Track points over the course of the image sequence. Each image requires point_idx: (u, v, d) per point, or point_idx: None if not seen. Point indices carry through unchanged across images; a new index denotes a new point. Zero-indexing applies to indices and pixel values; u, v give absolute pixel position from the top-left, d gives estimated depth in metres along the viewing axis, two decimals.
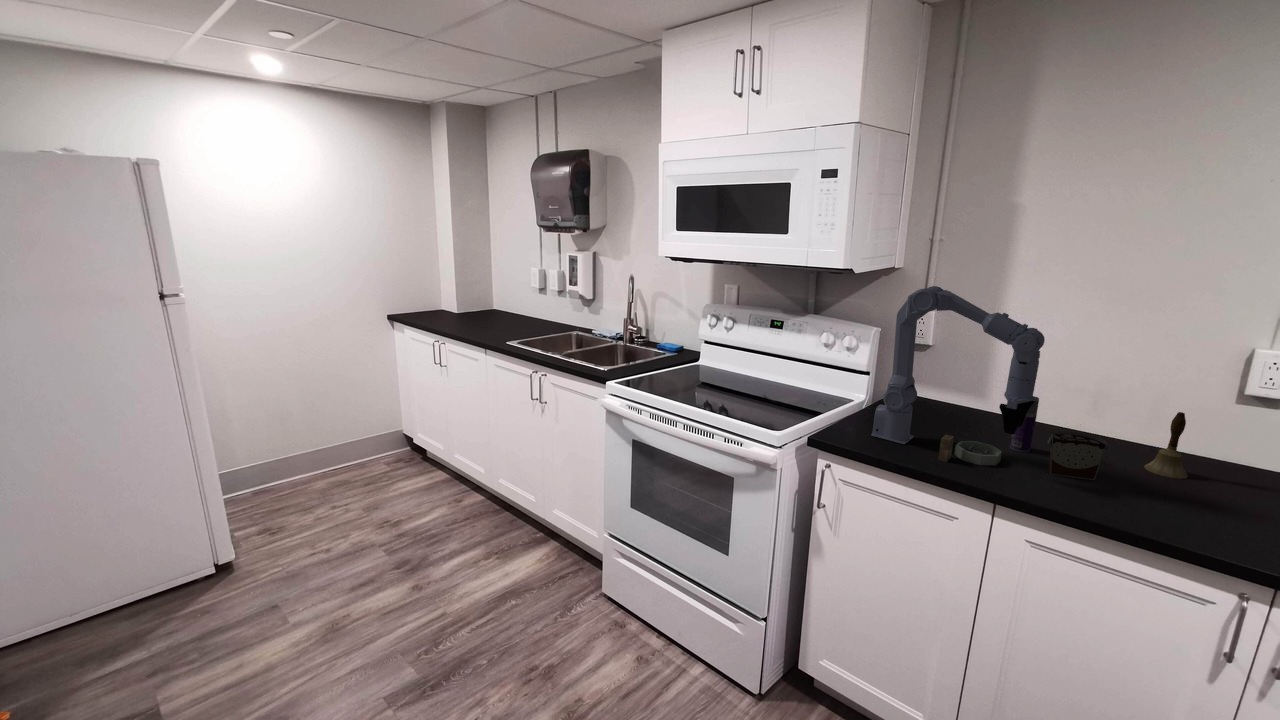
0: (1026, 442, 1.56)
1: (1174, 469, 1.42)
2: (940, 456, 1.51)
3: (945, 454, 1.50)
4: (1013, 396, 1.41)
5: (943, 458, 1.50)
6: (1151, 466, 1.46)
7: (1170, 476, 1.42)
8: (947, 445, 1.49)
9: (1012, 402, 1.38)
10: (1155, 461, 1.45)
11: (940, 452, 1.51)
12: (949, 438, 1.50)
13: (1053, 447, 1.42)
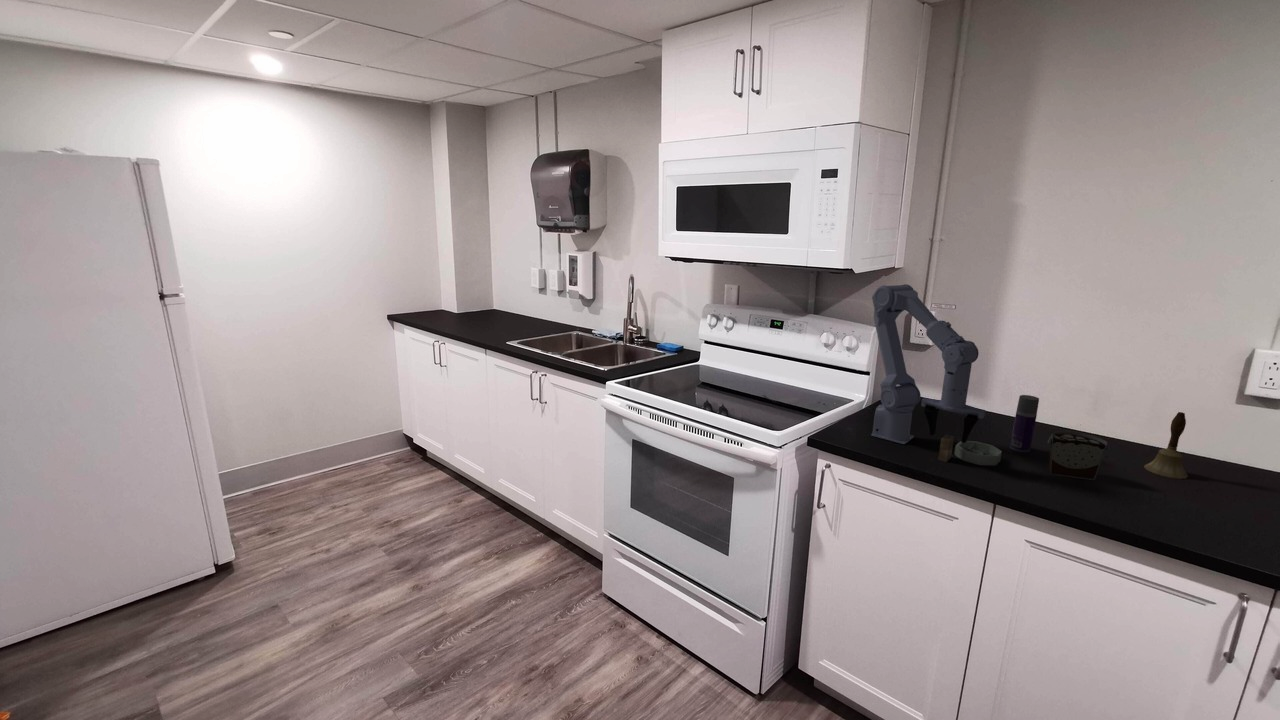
0: (1026, 442, 1.56)
1: (1174, 469, 1.42)
2: (940, 456, 1.51)
3: (945, 454, 1.50)
4: None
5: (943, 458, 1.50)
6: (1151, 466, 1.46)
7: (1170, 476, 1.42)
8: (947, 445, 1.49)
9: None
10: (1155, 461, 1.45)
11: (940, 452, 1.51)
12: (949, 438, 1.50)
13: (1053, 447, 1.42)
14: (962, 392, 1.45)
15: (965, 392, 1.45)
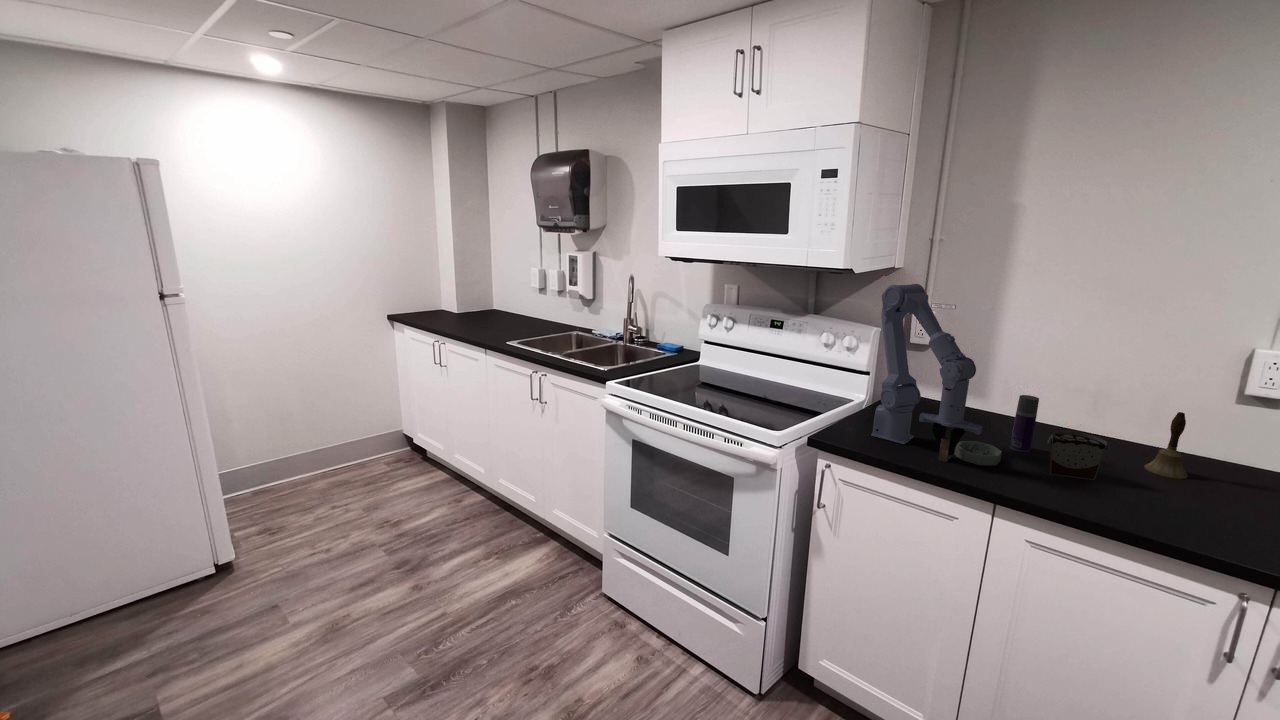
0: (1026, 442, 1.56)
1: (1174, 469, 1.42)
2: (940, 456, 1.51)
3: (945, 454, 1.50)
4: None
5: (943, 458, 1.50)
6: (1151, 466, 1.46)
7: (1170, 476, 1.42)
8: (947, 445, 1.49)
9: None
10: (1155, 461, 1.45)
11: (940, 452, 1.51)
12: (949, 438, 1.50)
13: (1053, 447, 1.42)
14: (959, 408, 1.46)
15: (962, 408, 1.46)
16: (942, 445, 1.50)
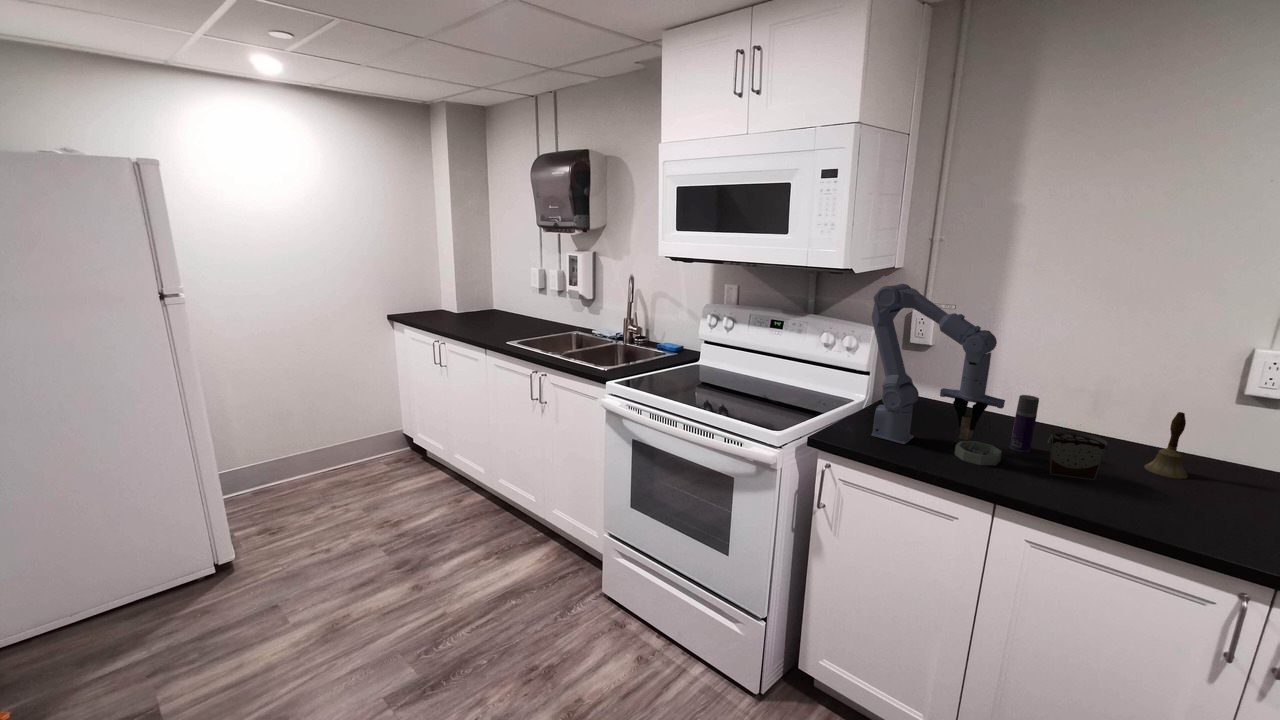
0: (1026, 442, 1.56)
1: (1174, 469, 1.42)
2: (961, 434, 1.50)
3: (966, 432, 1.49)
4: None
5: (964, 436, 1.49)
6: (1151, 466, 1.46)
7: (1170, 476, 1.42)
8: (968, 423, 1.48)
9: None
10: (1155, 461, 1.45)
11: (961, 430, 1.50)
12: (970, 416, 1.49)
13: (1053, 447, 1.42)
14: (982, 382, 1.45)
15: (985, 382, 1.45)
16: (963, 423, 1.49)
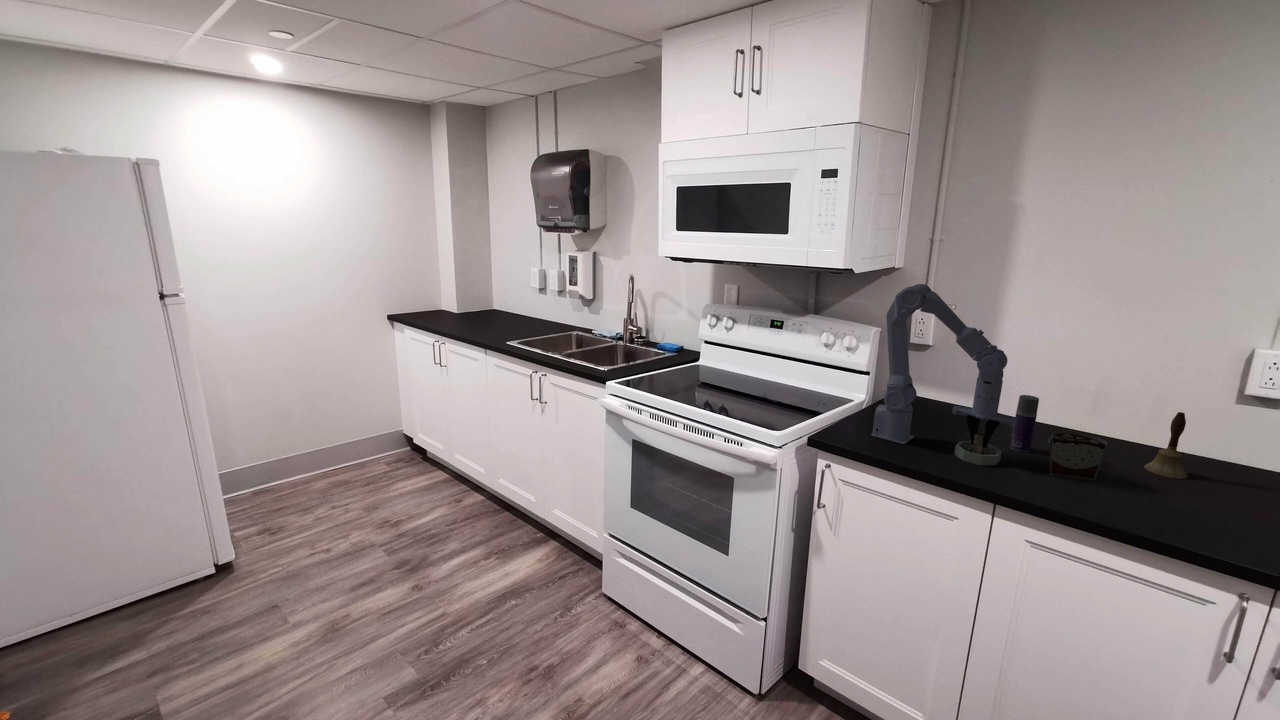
0: (1026, 442, 1.56)
1: (1174, 469, 1.42)
2: (973, 452, 1.52)
3: (979, 450, 1.51)
4: None
5: None
6: (1151, 466, 1.46)
7: (1170, 476, 1.42)
8: (981, 441, 1.50)
9: (953, 407, 1.55)
10: (1155, 461, 1.45)
11: (973, 448, 1.51)
12: (983, 434, 1.51)
13: (1053, 447, 1.42)
14: (994, 400, 1.46)
15: (997, 400, 1.47)
16: (976, 441, 1.51)
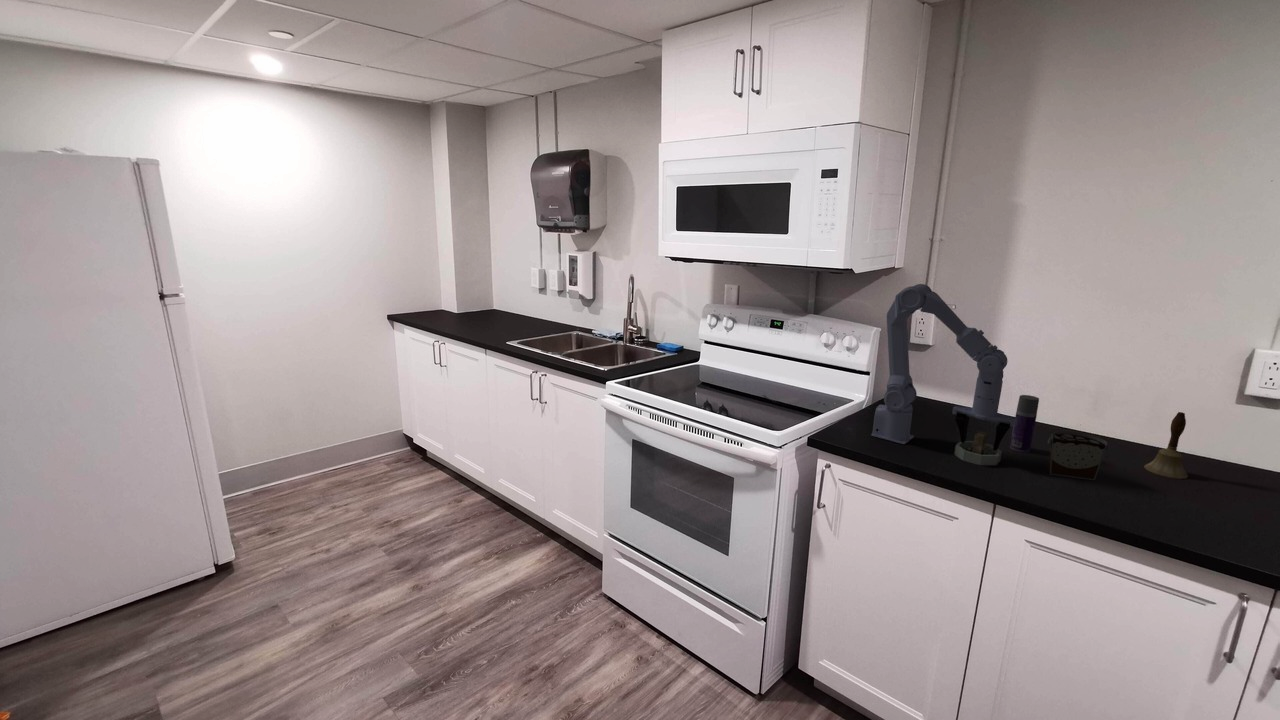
0: (1026, 442, 1.56)
1: (1174, 469, 1.42)
2: (973, 452, 1.52)
3: (979, 450, 1.51)
4: None
5: None
6: (1151, 466, 1.46)
7: (1170, 476, 1.42)
8: (981, 441, 1.50)
9: None
10: (1155, 461, 1.45)
11: (973, 448, 1.51)
12: (983, 434, 1.51)
13: (1053, 447, 1.42)
14: (994, 401, 1.46)
15: (997, 401, 1.47)
16: (976, 441, 1.51)
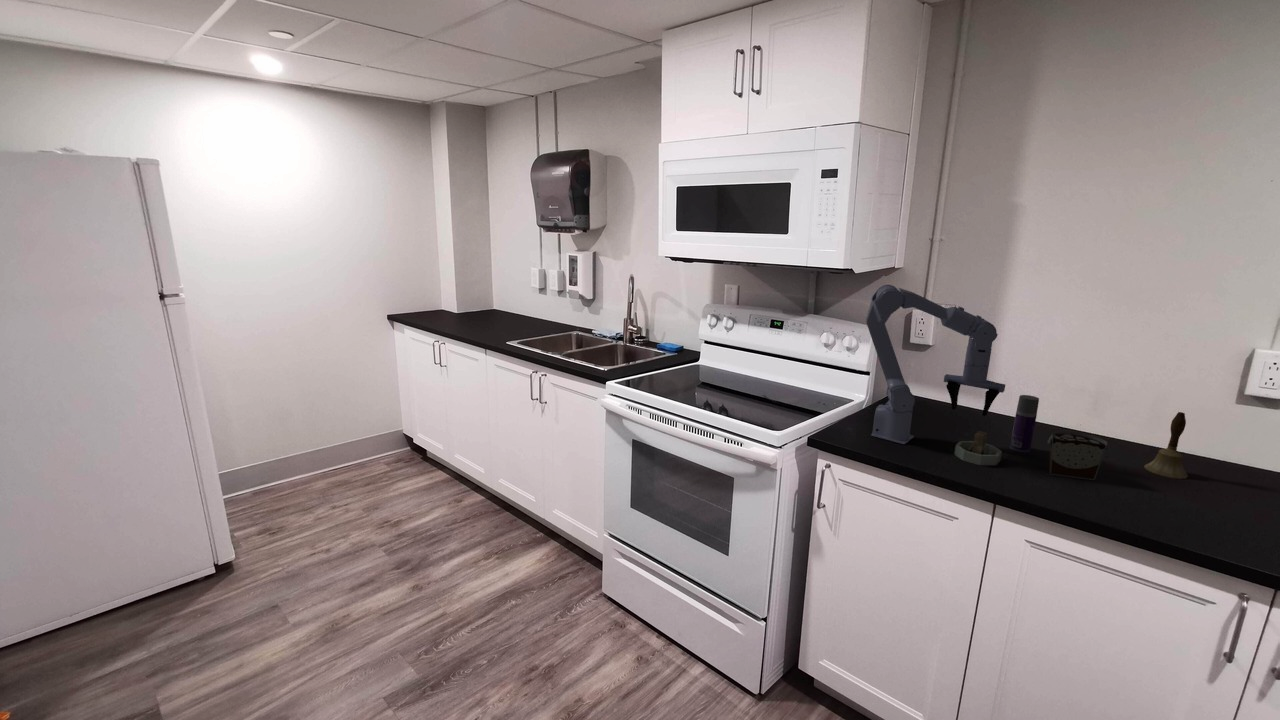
0: (1026, 442, 1.56)
1: (1174, 469, 1.42)
2: (973, 452, 1.52)
3: (979, 450, 1.51)
4: None
5: None
6: (1151, 466, 1.46)
7: (1170, 476, 1.42)
8: (981, 441, 1.50)
9: None
10: (1155, 461, 1.45)
11: (973, 448, 1.51)
12: (983, 434, 1.51)
13: (1053, 447, 1.42)
14: (983, 367, 1.53)
15: (986, 367, 1.53)
16: (976, 441, 1.51)
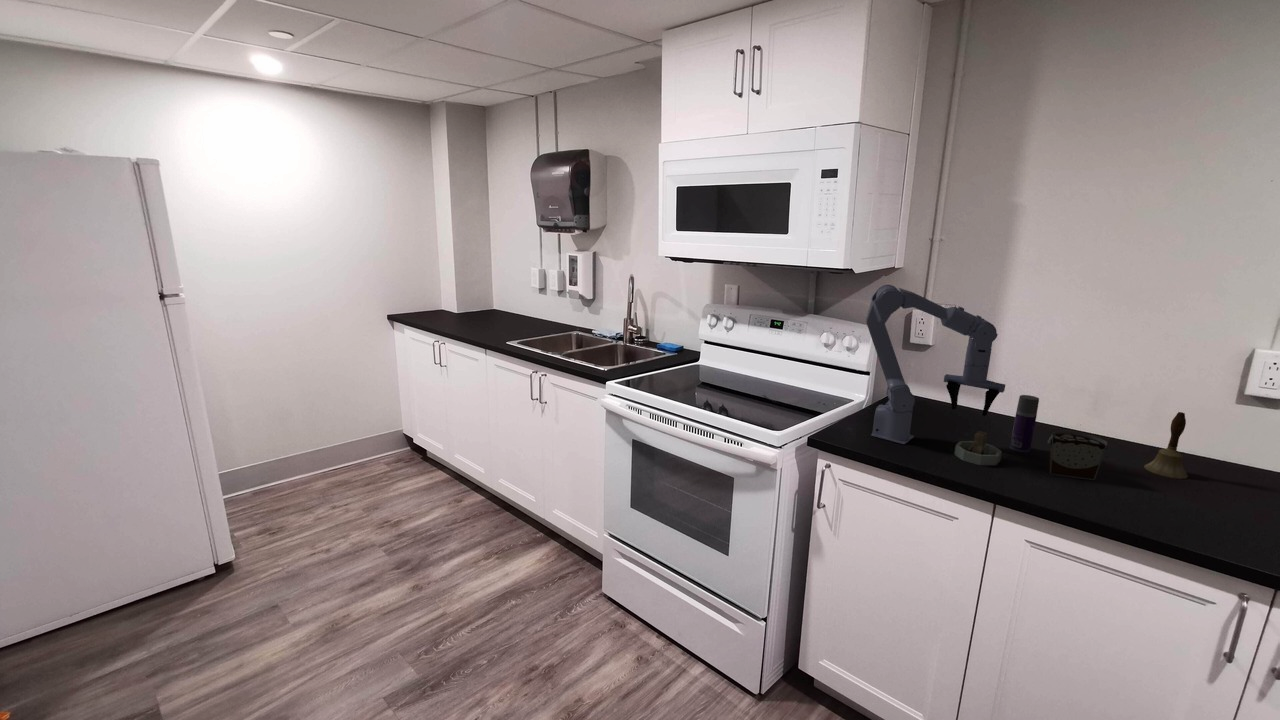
0: (1026, 442, 1.56)
1: (1174, 469, 1.42)
2: (973, 452, 1.52)
3: (979, 450, 1.51)
4: None
5: None
6: (1151, 466, 1.46)
7: (1170, 476, 1.42)
8: (981, 441, 1.50)
9: None
10: (1155, 461, 1.45)
11: (973, 448, 1.51)
12: (983, 434, 1.51)
13: (1053, 447, 1.42)
14: (983, 367, 1.53)
15: (986, 367, 1.53)
16: (976, 441, 1.51)
